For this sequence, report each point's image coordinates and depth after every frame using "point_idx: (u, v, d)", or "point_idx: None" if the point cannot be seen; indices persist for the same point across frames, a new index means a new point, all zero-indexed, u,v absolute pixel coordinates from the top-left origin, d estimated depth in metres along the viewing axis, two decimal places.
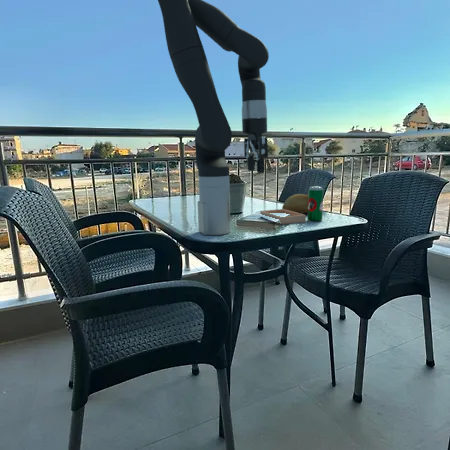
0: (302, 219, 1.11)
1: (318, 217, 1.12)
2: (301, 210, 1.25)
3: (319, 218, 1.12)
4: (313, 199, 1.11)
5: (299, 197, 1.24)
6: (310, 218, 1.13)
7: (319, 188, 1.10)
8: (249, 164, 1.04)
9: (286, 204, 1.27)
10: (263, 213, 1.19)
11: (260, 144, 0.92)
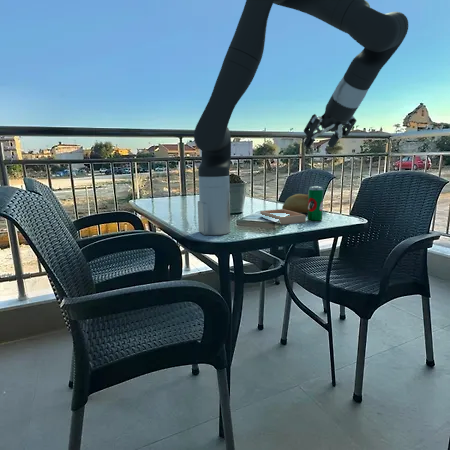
0: (302, 219, 1.11)
1: (318, 217, 1.12)
2: (301, 210, 1.25)
3: (319, 218, 1.12)
4: (313, 199, 1.11)
5: (299, 197, 1.24)
6: (310, 218, 1.13)
7: (319, 188, 1.10)
8: (331, 139, 0.96)
9: (286, 204, 1.27)
10: (263, 213, 1.19)
11: (309, 121, 0.88)
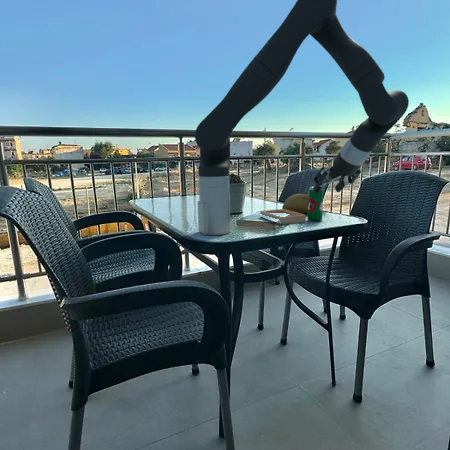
0: (302, 219, 1.11)
1: (318, 217, 1.12)
2: (301, 210, 1.25)
3: (319, 218, 1.12)
4: (313, 199, 1.11)
5: (299, 197, 1.24)
6: (310, 218, 1.13)
7: None
8: (338, 184, 1.07)
9: (286, 204, 1.27)
10: (263, 213, 1.19)
11: (319, 172, 0.98)
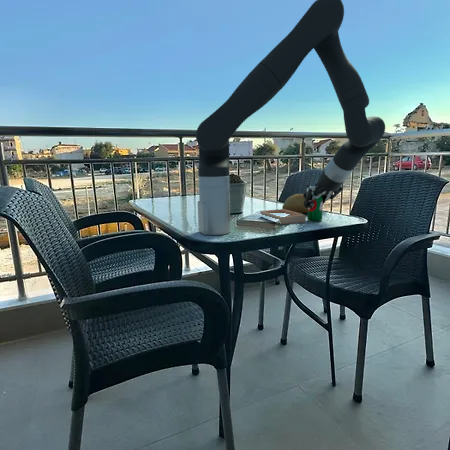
0: (302, 219, 1.11)
1: (318, 217, 1.12)
2: (301, 210, 1.25)
3: (319, 218, 1.12)
4: None
5: (299, 197, 1.25)
6: (310, 218, 1.13)
7: None
8: None
9: (286, 204, 1.27)
10: (263, 213, 1.19)
11: (305, 189, 1.07)
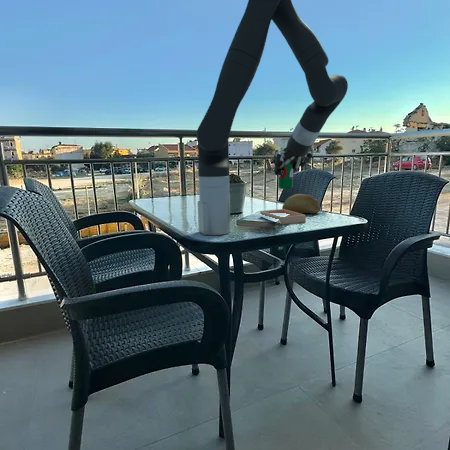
0: (302, 219, 1.11)
1: (288, 184, 1.12)
2: (301, 210, 1.25)
3: (289, 185, 1.12)
4: (283, 166, 1.11)
5: (299, 197, 1.25)
6: (280, 185, 1.12)
7: None
8: None
9: (286, 204, 1.27)
10: (263, 213, 1.19)
11: (274, 155, 1.07)
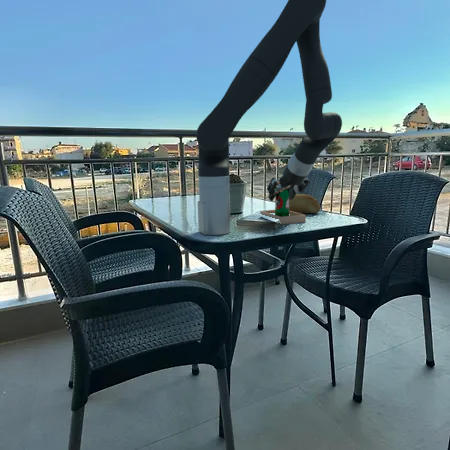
0: (302, 219, 1.11)
1: (285, 214, 1.14)
2: (301, 210, 1.25)
3: (286, 215, 1.14)
4: (279, 197, 1.13)
5: (299, 197, 1.25)
6: (277, 215, 1.15)
7: None
8: (290, 193, 1.17)
9: None
10: (263, 213, 1.19)
11: (270, 182, 1.08)
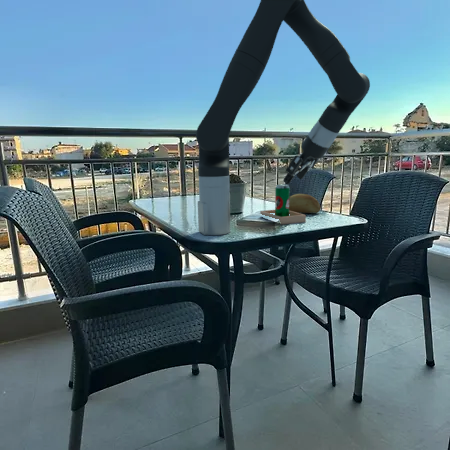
0: (302, 219, 1.11)
1: (285, 215, 1.14)
2: (301, 210, 1.25)
3: None
4: (279, 197, 1.13)
5: (299, 197, 1.25)
6: None
7: (285, 186, 1.12)
8: (300, 172, 1.09)
9: None
10: (263, 213, 1.19)
11: (292, 161, 0.98)
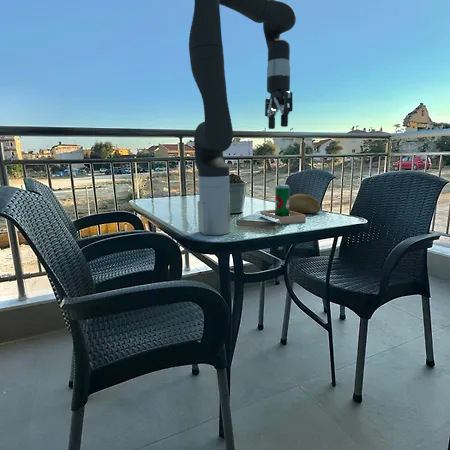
0: (302, 219, 1.11)
1: (285, 215, 1.14)
2: (301, 210, 1.25)
3: None
4: (279, 197, 1.13)
5: (299, 197, 1.25)
6: None
7: (285, 186, 1.12)
8: (270, 122, 1.12)
9: None
10: (263, 213, 1.19)
11: (286, 98, 1.01)
